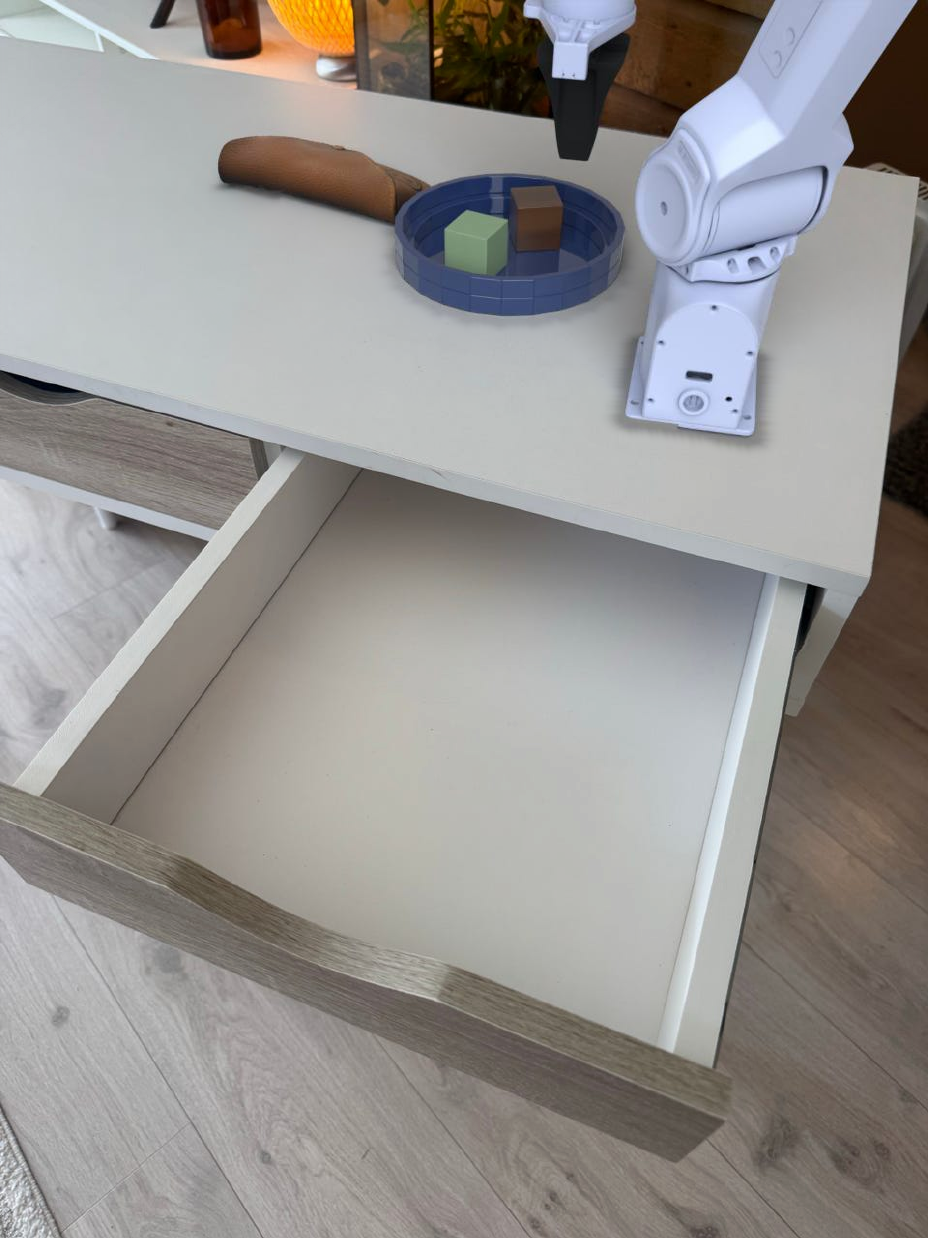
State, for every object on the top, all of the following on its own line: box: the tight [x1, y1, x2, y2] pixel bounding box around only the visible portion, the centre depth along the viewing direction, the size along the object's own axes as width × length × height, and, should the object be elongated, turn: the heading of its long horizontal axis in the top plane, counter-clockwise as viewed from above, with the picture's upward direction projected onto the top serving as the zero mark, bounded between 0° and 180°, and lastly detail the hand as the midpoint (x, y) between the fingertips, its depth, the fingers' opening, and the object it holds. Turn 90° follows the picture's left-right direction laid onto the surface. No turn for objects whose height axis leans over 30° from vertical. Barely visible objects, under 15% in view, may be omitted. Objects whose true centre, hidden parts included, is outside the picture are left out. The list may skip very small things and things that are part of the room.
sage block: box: [444, 210, 508, 276], centre depth 70 cm, size 4×4×4 cm
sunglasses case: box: [217, 135, 433, 223], centre depth 79 cm, size 18×7×7 cm
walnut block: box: [509, 186, 563, 252], centre depth 73 cm, size 4×4×4 cm
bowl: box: [394, 172, 626, 317], centre depth 71 cm, size 17×17×3 cm
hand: (574, 156), depth 66 cm, fingers closed
